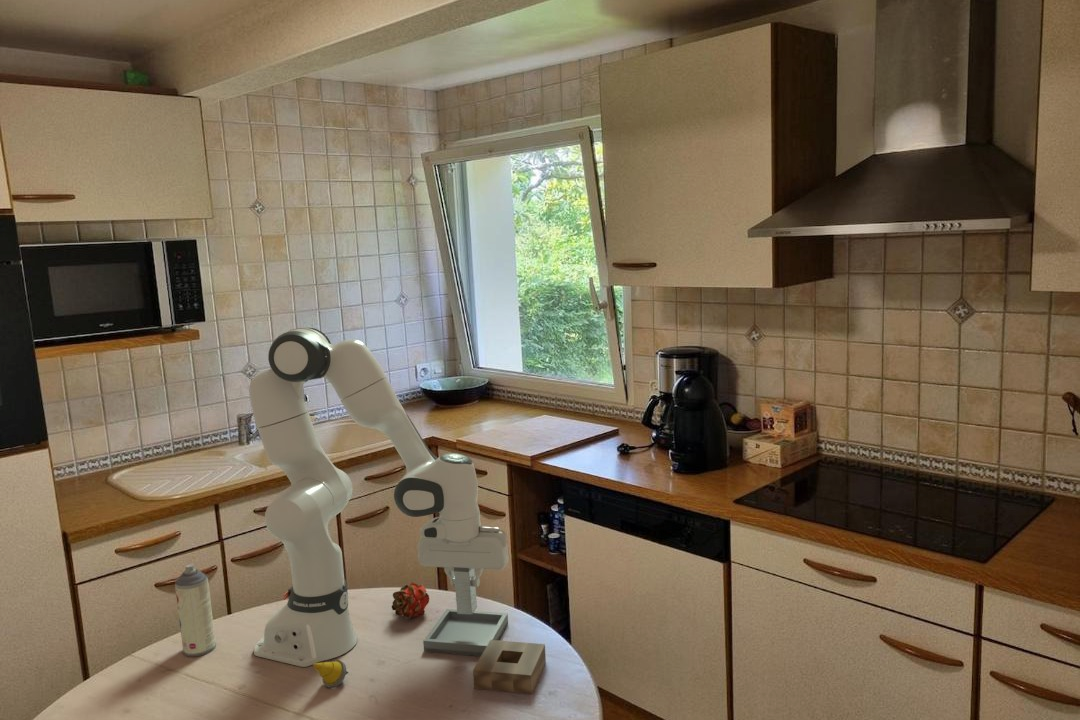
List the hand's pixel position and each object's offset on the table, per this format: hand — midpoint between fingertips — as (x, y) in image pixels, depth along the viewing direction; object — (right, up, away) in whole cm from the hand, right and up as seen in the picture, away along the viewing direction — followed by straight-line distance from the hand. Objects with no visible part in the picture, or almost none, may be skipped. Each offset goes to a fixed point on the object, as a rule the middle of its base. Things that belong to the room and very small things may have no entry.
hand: (465, 585), depth 178 cm
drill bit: (-26, -17, -16) cm, 34 cm away
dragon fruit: (-14, -11, +14) cm, 23 cm away
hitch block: (+11, -14, -14) cm, 23 cm away
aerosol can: (-60, -15, +2) cm, 62 cm away
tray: (0, -12, +2) cm, 13 cm away
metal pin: (0, -6, +1) cm, 6 cm away
